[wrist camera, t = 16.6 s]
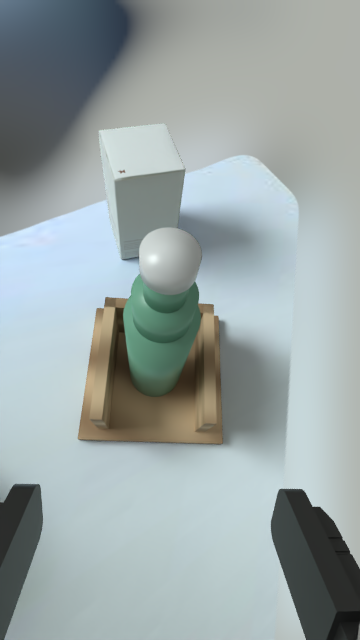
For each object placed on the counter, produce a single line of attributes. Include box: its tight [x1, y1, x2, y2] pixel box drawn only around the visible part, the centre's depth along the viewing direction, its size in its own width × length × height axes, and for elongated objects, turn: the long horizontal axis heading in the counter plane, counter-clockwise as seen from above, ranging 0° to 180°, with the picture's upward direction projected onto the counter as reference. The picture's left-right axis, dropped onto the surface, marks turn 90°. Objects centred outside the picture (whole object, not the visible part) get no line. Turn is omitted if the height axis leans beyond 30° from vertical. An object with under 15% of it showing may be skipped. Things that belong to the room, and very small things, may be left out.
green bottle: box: [123, 227, 202, 397], centre depth 25 cm, size 5×5×21 cm
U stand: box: [78, 297, 223, 444], centre depth 32 cm, size 14×14×7 cm
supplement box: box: [99, 124, 185, 260], centre depth 38 cm, size 7×7×13 cm
